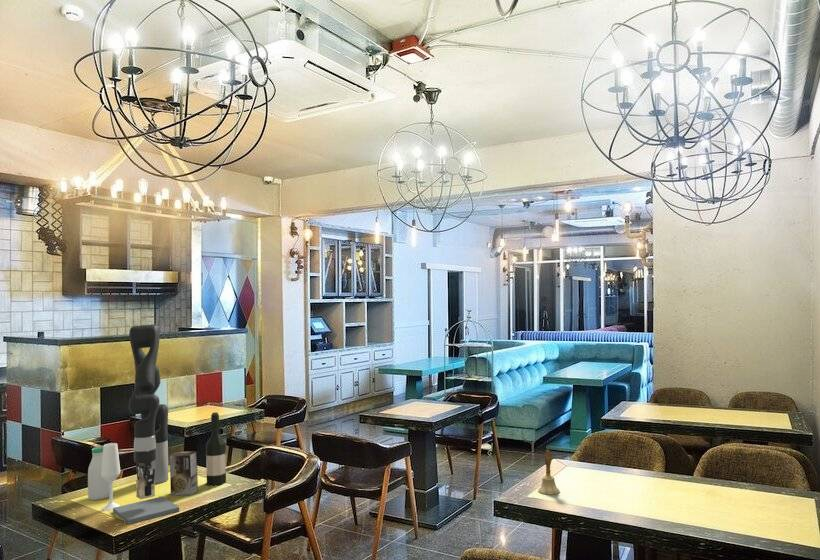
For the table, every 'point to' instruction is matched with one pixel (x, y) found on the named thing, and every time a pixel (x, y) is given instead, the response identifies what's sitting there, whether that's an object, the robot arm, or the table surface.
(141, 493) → the birch block
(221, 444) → the wine bottle
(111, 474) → the champagne flute
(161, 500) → the slate board
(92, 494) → the milk bottle
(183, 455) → the coffee box
